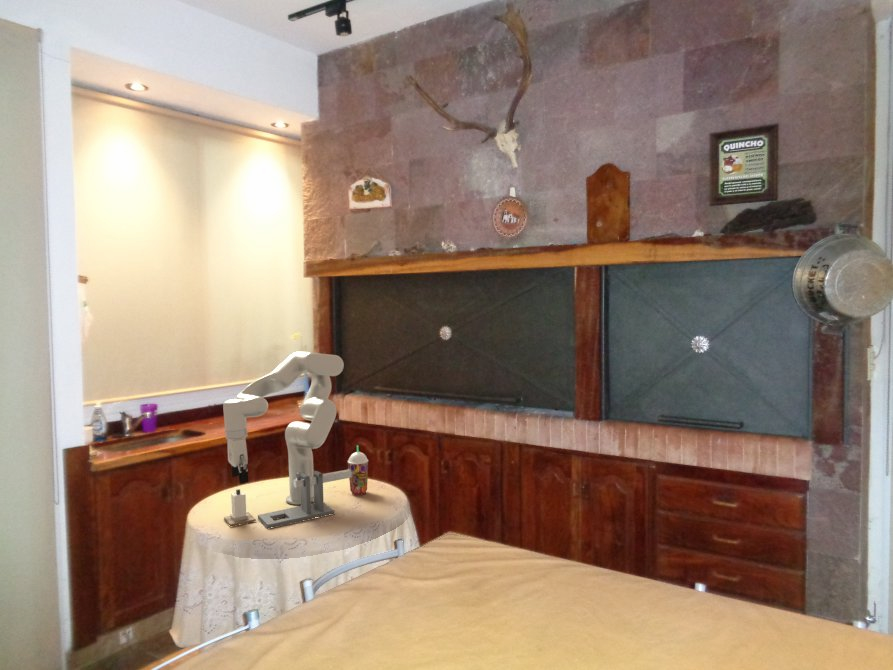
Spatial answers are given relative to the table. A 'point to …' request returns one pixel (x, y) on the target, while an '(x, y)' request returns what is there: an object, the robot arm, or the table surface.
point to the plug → (238, 506)
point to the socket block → (305, 509)
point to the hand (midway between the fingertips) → (240, 479)
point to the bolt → (326, 478)
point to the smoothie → (358, 473)
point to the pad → (232, 523)
